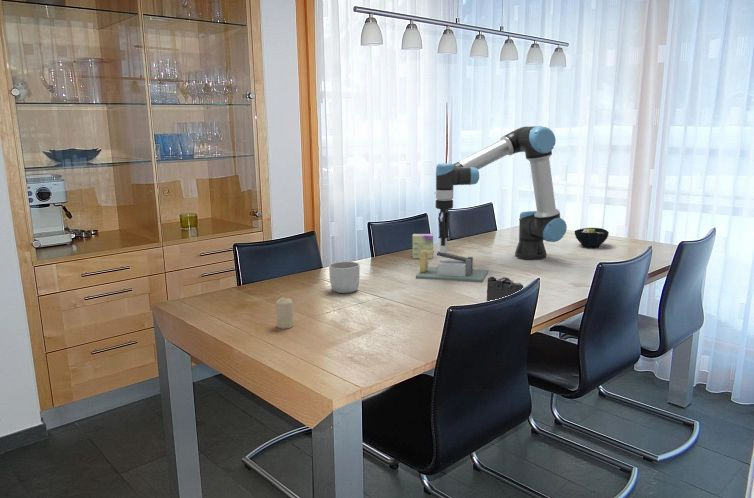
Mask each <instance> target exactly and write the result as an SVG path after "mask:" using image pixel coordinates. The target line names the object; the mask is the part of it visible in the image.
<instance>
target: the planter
mask: <svg viewBox="0 0 754 498" xmlns="http://www.w3.org/2000/svg"><path fill="white" fill-rule="evenodd" d="M328 268H329V283H330V287H331V290H332V291H334V292H335V293H338V294H350V293H354V292H355V291H357V290H358V289H359V287H360V263H359V262H355V261H336V262H332V263H330V264H329V265H328Z"/></svg>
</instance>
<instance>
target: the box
mask: <svg viewBox="0 0 754 498" xmlns="http://www.w3.org/2000/svg"><path fill="white" fill-rule="evenodd" d="M422 250H434V234H433V233H413V234H412V259H420V252H421V251H422ZM429 259H432V260H433V259H434V253H433V254H428V260H429Z"/></svg>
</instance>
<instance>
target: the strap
mask: <svg viewBox="0 0 754 498" xmlns="http://www.w3.org/2000/svg"><path fill="white" fill-rule="evenodd" d="M436 256H438V257H443V258H445V259H453V260H459V261H463V262H466V259H470V260H471V261H472V259H471V258H468V257H465V256H461V255H455V254H451V253H448V252H447V253H440V250H439V251H437V252H436Z"/></svg>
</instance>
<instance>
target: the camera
mask: <svg viewBox="0 0 754 498" xmlns="http://www.w3.org/2000/svg"><path fill="white" fill-rule="evenodd" d="M486 283H487V287H486V302H487V301H490V300H495V299H499V298H502V297H505V296H508V295H511V294H513V293H515V292H517V291H519V290H521V289H522V288H523V289H524V285H523V283H521V282H514V280H511V279H510V278H508V277H506V276H503V277H502V278H501V277H500V278H497V277H495V276H493V275H492V276H489V277H488V278H487V281H486Z"/></svg>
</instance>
